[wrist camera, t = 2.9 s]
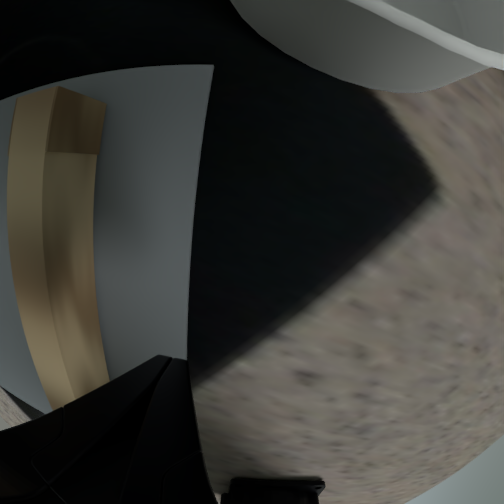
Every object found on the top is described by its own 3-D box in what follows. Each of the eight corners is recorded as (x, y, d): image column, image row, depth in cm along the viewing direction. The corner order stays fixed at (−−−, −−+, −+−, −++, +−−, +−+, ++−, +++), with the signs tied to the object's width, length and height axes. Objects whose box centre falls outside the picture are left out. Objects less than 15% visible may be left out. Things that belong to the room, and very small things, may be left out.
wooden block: (112, 388, 12) (88, 427, 9) (78, 376, 12) (51, 410, 9) (106, 104, 8) (58, 85, 5) (65, 109, 8) (16, 98, 5)
